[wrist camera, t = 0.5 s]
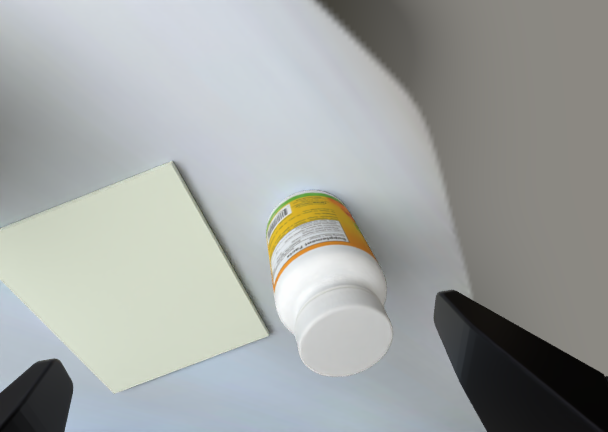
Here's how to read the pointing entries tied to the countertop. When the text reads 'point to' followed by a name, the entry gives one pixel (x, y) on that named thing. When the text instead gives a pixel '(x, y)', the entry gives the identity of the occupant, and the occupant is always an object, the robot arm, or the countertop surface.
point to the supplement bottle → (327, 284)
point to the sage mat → (130, 279)
